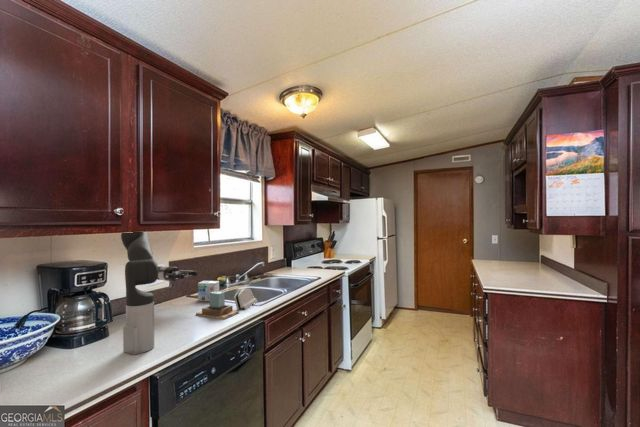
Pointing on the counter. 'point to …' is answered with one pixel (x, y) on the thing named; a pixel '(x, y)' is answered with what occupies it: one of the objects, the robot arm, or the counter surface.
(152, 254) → the robot arm
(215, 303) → the grey-green block
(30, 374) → the counter surface
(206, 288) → the light bulb box
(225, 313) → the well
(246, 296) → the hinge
